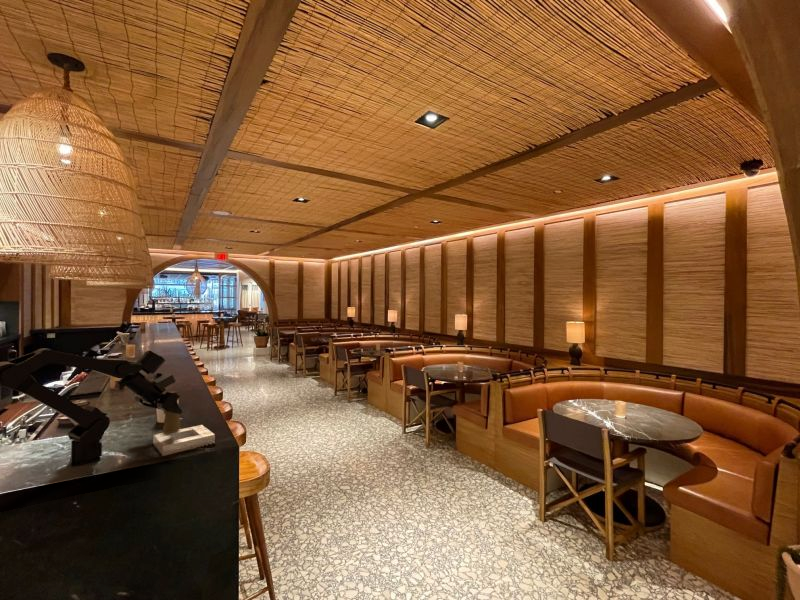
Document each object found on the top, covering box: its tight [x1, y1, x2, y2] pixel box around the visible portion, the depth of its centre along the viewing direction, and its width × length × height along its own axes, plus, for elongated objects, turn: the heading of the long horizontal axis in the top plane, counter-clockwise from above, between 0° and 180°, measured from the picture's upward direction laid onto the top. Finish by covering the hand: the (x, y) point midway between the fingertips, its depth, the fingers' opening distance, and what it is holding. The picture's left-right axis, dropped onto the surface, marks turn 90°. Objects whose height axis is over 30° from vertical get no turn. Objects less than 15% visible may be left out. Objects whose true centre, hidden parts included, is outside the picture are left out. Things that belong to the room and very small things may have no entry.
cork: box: [161, 404, 182, 433], centre depth 130 cm, size 6×6×11 cm
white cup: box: [156, 398, 180, 424], centre depth 147 cm, size 8×8×10 cm
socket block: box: [152, 424, 216, 457], centre depth 122 cm, size 15×14×3 cm
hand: (174, 411), depth 131 cm, fingers open, 9 cm apart
